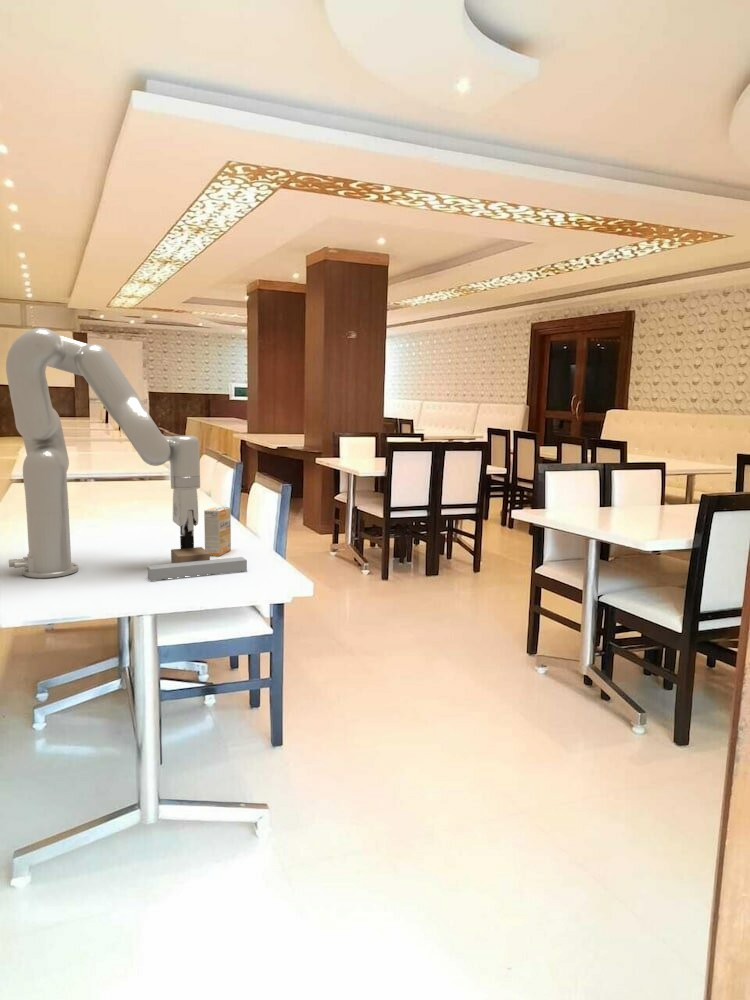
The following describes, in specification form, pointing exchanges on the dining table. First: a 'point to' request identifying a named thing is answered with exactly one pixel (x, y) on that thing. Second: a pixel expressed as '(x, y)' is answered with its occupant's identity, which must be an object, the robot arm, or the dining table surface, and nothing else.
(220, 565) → the grey board
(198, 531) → the dining table surface
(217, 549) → the supplement box
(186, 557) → the walnut block
